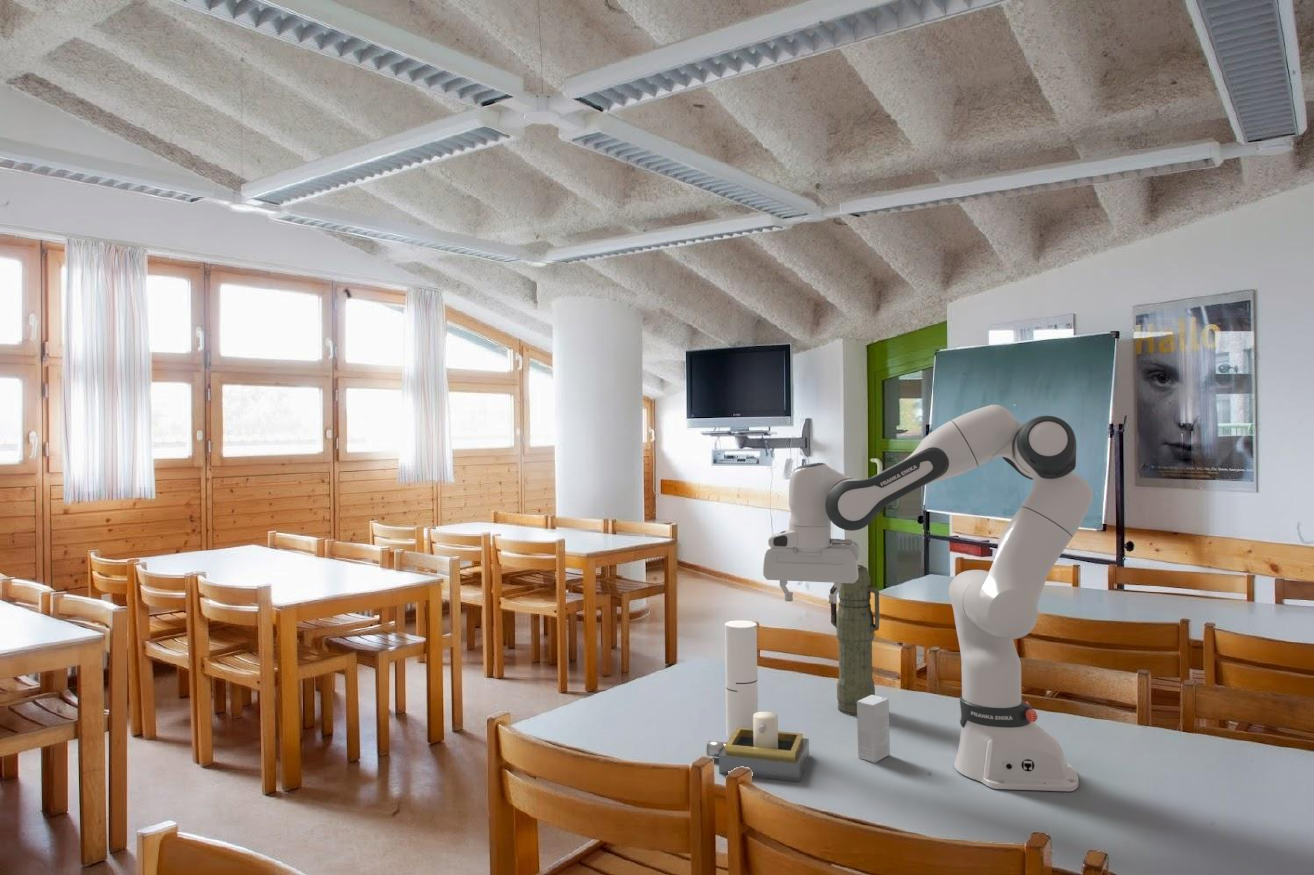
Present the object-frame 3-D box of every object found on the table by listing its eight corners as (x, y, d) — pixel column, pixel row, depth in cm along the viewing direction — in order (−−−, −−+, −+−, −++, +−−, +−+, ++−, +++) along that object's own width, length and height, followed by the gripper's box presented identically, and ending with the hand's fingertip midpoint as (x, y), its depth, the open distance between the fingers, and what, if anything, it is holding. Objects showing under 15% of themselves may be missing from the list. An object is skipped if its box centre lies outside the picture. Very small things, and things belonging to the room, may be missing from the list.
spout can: (780, 760, 175) (779, 712, 175) (774, 773, 169) (774, 723, 169) (756, 758, 177) (755, 710, 177) (749, 770, 170) (749, 721, 170)
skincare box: (872, 749, 180) (871, 693, 180) (890, 755, 177) (889, 698, 177) (856, 758, 176) (856, 700, 176) (874, 763, 173) (874, 705, 173)
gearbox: (809, 755, 178) (808, 731, 178) (799, 782, 165) (798, 756, 165) (716, 745, 184) (716, 722, 184) (699, 770, 171) (699, 746, 171)
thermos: (835, 701, 213) (834, 562, 212) (883, 707, 208) (882, 564, 207) (827, 712, 205) (825, 567, 204) (876, 718, 200) (874, 570, 199)
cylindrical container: (756, 741, 186) (755, 628, 186) (724, 739, 188) (722, 627, 187) (759, 730, 193) (757, 620, 193) (728, 728, 195) (726, 619, 194)
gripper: (860, 537, 183) (861, 601, 183) (766, 535, 189) (767, 596, 189) (857, 541, 177) (858, 607, 177) (761, 538, 183) (761, 602, 183)
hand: (810, 601), depth 183 cm, fingers open, 8 cm apart
